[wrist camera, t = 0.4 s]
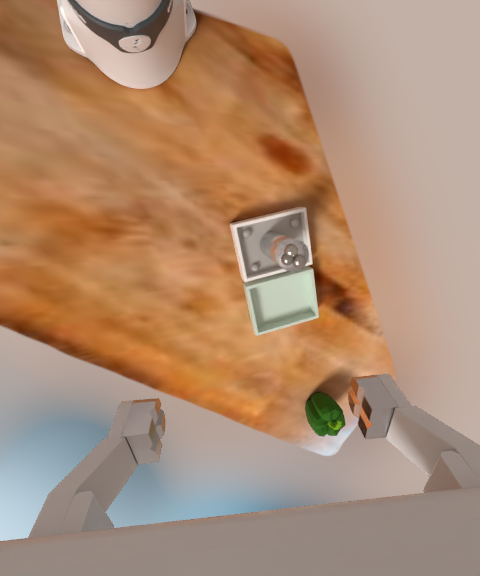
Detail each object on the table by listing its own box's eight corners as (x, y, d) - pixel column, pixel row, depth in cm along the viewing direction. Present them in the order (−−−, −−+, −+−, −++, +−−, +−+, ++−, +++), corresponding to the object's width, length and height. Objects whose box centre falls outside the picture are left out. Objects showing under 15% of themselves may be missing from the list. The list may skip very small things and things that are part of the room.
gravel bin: (229, 223, 53) (232, 225, 50) (299, 206, 54) (305, 207, 52) (241, 277, 57) (244, 282, 54) (306, 260, 58) (312, 264, 56)
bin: (242, 282, 57) (245, 287, 54) (306, 265, 59) (313, 268, 56) (252, 329, 61) (256, 336, 58) (312, 311, 63) (318, 317, 60)
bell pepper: (316, 419, 73) (336, 452, 64) (294, 407, 70) (312, 439, 61) (337, 396, 72) (361, 426, 63) (316, 382, 69) (337, 411, 60)
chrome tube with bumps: (257, 234, 53) (278, 245, 42) (282, 228, 54) (310, 238, 42) (262, 259, 55) (283, 277, 44) (286, 253, 55) (313, 269, 44)
